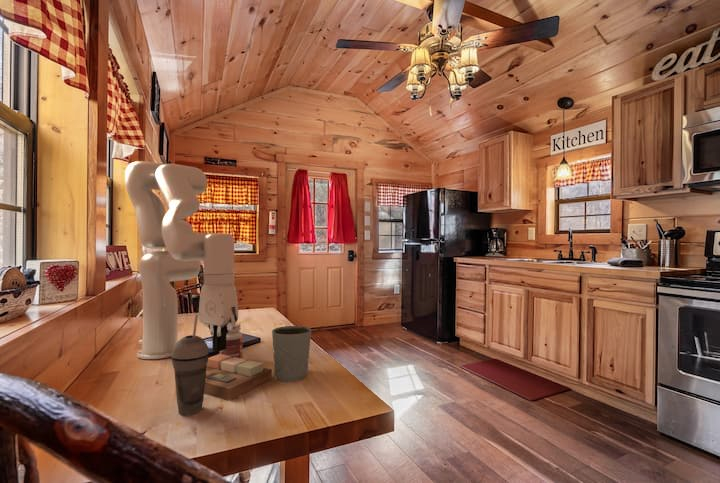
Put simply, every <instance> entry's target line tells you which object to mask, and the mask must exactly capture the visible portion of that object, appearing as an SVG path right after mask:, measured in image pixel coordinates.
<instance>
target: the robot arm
mask: <svg viewBox="0 0 720 483" xmlns="http://www.w3.org/2000/svg"><path fill="white" fill-rule="evenodd" d="M124 174H125V175H124V183H125V184H124V185H125V189H126V193H127V195H128V196H129V199H130V201H131V203H132V206H133V209H134V214H135V218H136V219H135V220H136V226H137V230H138V236H139V240H140V243H141V244H142V246H143V247H144V248H146V249H152V250H153V249H155V250H157V249H159V250H160V251H152V252H148V253H146V254H143V256H142V257H141V258H140V260H139V263H138V269H139V275H140V280H141V287H142V288H141V289H142V337H141V339H139V340H138V344H140V345H141V349H139V350H138V351H137V352H136V357H137V358H138V359H142V360H159V359H167V358H171V356H172V352H173V349H174V347H175V345H176V344H177V342H178V341H179V340H178V336H179V335H178V332H179V331H178V328H179V327H178V326H179V325H178V324H179V323H178V321H179V318H178V317H179V316H178V313H179V312H178V310H179V309H178V305H179V304H178V303H179V302H178V293H177V291H176V290H175V288H174V286H173V285H171V283H170V282H178V281H180V282H181V281H188V280H193V279H195V278H196V277H198V276H199V274H200V271H201V261H203V285H202V286H201V288H200V289H201V290H200V293H199V295H200V296H199V301H198V302H199V303H198V304H199V305H198V320H199V322H200V323H201V324H203V326H205V327H207V328H208V329H209V332H210V336H212V351H213V352H217V353H220V351H222V350H225V349H226V334H228V331H229V330H232V329H235V328H236V324H235V322H238V319H239V301H238V294H237V293H238V292H237V288H236V285H235V238H234V236H233V235H232V234H231V233H221V232H215V233H213V232H209V233H208V232H194V231H195V230H194V228H193V226H192V224H190V223H189V221H185V219H186V218H189V217H191V216H193V215H195V214H197V212H198V211H199V209H200V207H201V203H200V200H199V197H198V196H197V195H202V194H204V192H206V189H207V188H208V179H207V176H206V174H205V173H204V171H203V170H202V169H200V168H198V167H195V166H188V165H183V164H176V163H159V162H153V161H145V160H142V161H141V160H139V161H134V162H131V163H129V165H128V166H127V167H126V169H125V173H124ZM153 190H155V191H160V193H161V195H162V197H163V200H164V202H165V204H166V207H167V209H168V210H167V211H166V207H165V204H164V202H163V201H162V200H161V198H160V197H159V196H158V195H157V194H156V193H155V192H153ZM165 249H166V250H165ZM161 250H163V251H161ZM222 327H223V328H222Z"/></svg>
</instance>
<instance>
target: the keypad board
mask: <svg viewBox="0 0 720 483" xmlns="http://www.w3.org/2000/svg"><path fill="white" fill-rule="evenodd" d="M272 374H273V371H272V369H271V368H267V367H263V371H262V372H260V373H258V374H256V375H253V376H251V377H249V376H245V375H240V374H237V372H235V373H232V372H228V371H224V370H221V368H220V369H215V368H211V367H207V366H206V376H205V387H204V395H205V394H206V395H209V396H211V397H216V398H220V399H222V400H226V401H231V400H233V399H235V398H237V397H239V396H241V395H243V394H245V393H248V392H249V391H251V390H254V389H255V388H257V387H259V386H262V385H264V384H266V383H267V382H270V381H271V380H272V378H273V377H272V376H273V375H272Z"/></svg>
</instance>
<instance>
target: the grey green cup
mask: <svg viewBox="0 0 720 483" xmlns="http://www.w3.org/2000/svg"><path fill="white" fill-rule="evenodd" d="M271 336H272V345H273V346H272V347H273V348H272V349H273V362H274V365H273V366H274V368H273V370H274V378H275V379H276V380H278V381H281V382H297V381H301V380H304V379H305V378H306V377H308V374H309V373H308V372H309V371H308V370H309V357H310V349H311V348H310V347H311V339H312V329H311V328H310V327H307V326H301V325H287V326H286V325H285V326H279V327H275V328H273V329H272V331H271Z"/></svg>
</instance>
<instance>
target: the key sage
mask: <svg viewBox="0 0 720 483" xmlns="http://www.w3.org/2000/svg"><path fill="white" fill-rule="evenodd" d="M263 368H264V362H261V361H260V362H259V361H255V360H247V362H244V363H242V364H239V365H237V374H240V375H245V376H249V377H251V376H253V375H256V374H258V373H260V372H262V371H263Z"/></svg>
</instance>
